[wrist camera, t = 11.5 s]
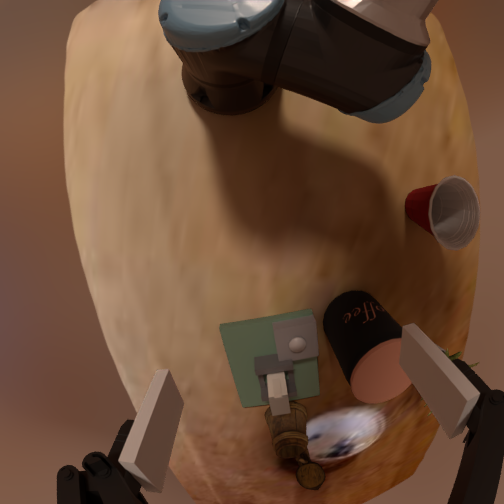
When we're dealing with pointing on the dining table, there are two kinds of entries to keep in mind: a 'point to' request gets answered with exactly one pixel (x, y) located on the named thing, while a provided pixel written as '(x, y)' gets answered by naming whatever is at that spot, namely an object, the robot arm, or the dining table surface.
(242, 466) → the dining table surface
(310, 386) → the board
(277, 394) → the plug
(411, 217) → the plastic cup
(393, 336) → the coffee jar
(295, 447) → the wooden mug
